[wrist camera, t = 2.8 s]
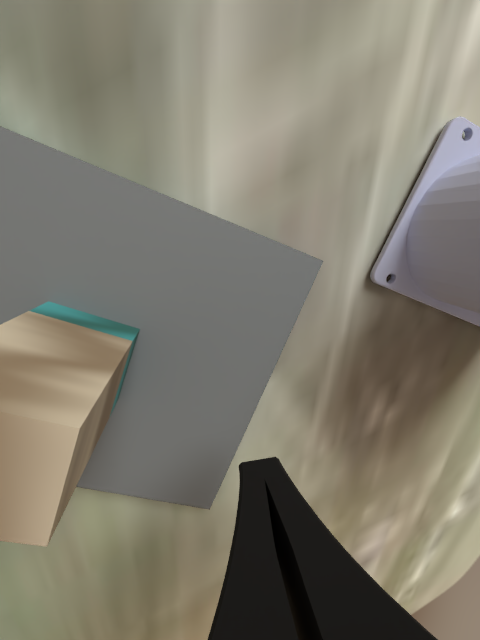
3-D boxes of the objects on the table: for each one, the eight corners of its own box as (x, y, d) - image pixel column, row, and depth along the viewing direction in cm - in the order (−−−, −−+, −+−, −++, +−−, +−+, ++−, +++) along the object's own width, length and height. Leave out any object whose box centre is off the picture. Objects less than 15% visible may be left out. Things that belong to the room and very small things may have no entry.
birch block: (139, 328, 13) (80, 428, 7) (118, 399, 14) (46, 546, 8) (48, 301, 12) (-124, 385, 6) (31, 378, 13) (-132, 524, 7)
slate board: (315, 258, 14) (323, 260, 13) (209, 494, 18) (209, 509, 17) (-257, 21, 9) (-307, -2, 9) (-234, 414, 13) (-267, 428, 12)
